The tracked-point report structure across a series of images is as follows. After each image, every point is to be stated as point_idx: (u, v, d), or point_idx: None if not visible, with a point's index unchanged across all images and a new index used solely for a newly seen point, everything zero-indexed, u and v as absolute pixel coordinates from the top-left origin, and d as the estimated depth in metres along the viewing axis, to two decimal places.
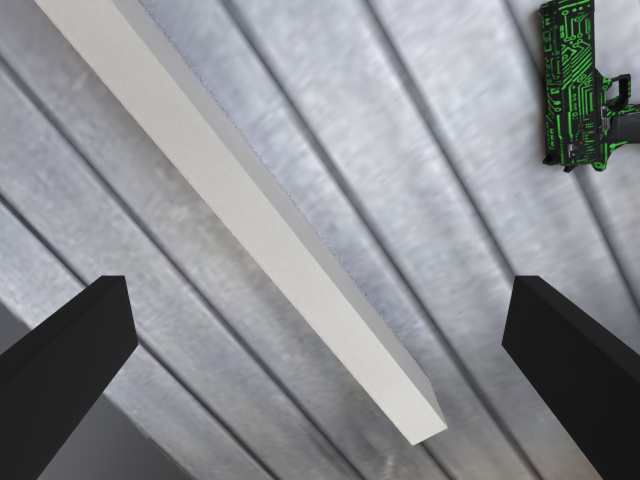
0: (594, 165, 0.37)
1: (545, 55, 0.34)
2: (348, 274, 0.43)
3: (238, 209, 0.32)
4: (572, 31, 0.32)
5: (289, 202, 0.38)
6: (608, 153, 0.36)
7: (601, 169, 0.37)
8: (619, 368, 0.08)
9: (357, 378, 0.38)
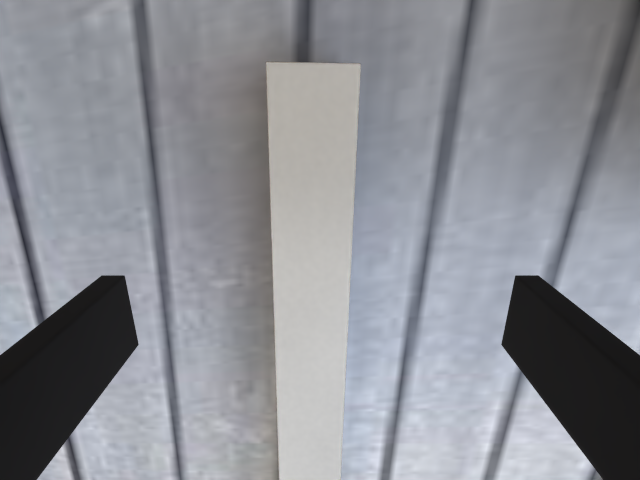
0: None
1: None
2: None
3: None
4: None
5: None
6: None
7: None
8: (619, 368, 0.08)
9: None
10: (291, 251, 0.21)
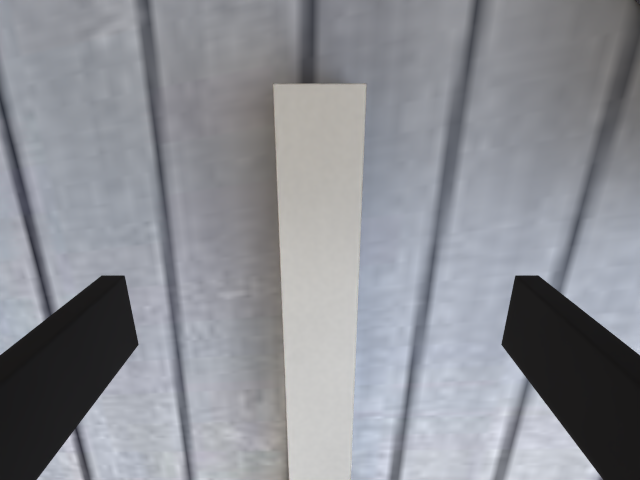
0: None
1: None
2: None
3: None
4: None
5: None
6: None
7: None
8: (619, 368, 0.08)
9: None
10: (299, 267, 0.21)
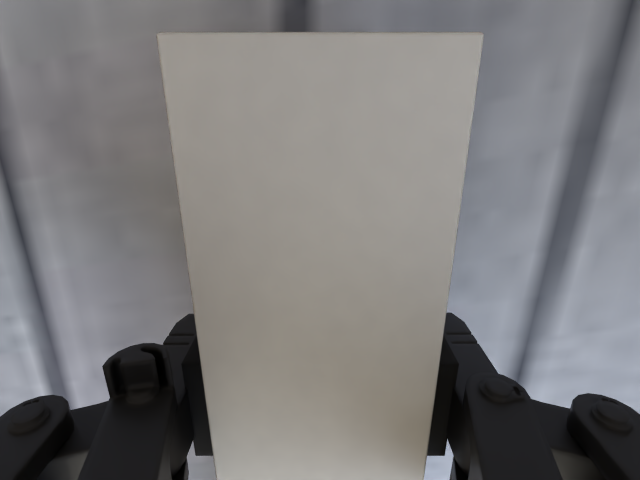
0: None
1: None
2: None
3: None
4: None
5: None
6: None
7: None
8: None
9: None
10: None
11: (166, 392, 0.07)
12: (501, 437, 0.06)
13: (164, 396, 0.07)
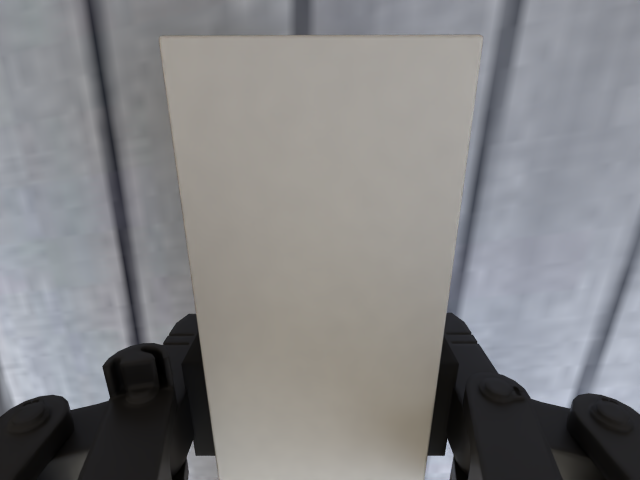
0: None
1: None
2: None
3: None
4: None
5: None
6: None
7: None
8: None
9: None
10: None
11: (166, 392, 0.07)
12: (501, 437, 0.06)
13: (164, 396, 0.07)
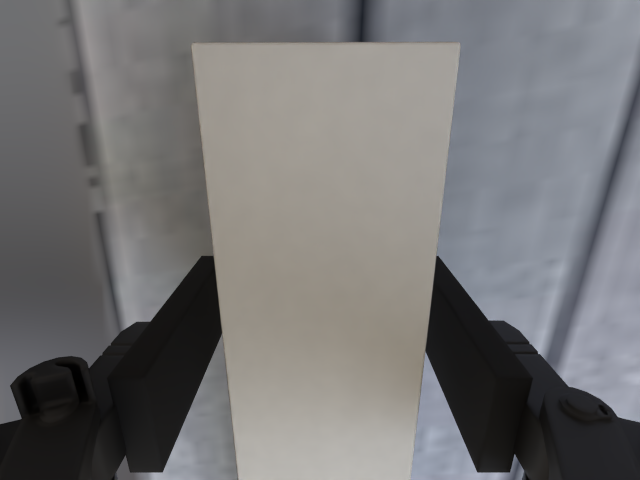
0: None
1: None
2: None
3: None
4: None
5: None
6: None
7: None
8: (461, 324, 0.09)
9: None
10: (279, 466, 0.09)
11: (86, 406, 0.07)
12: (586, 456, 0.06)
13: (84, 410, 0.07)
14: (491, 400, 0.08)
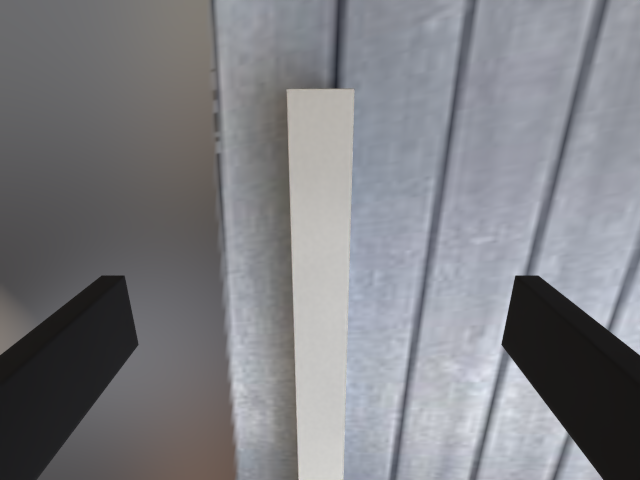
0: None
1: None
2: None
3: (316, 461, 0.36)
4: None
5: None
6: None
7: None
8: (619, 368, 0.08)
9: None
10: (305, 227, 0.28)
11: None
12: None
13: None
14: None
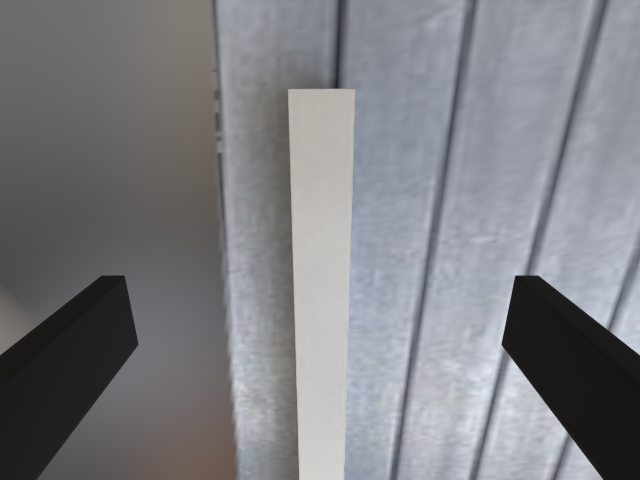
0: None
1: None
2: None
3: (317, 459, 0.36)
4: None
5: None
6: None
7: None
8: (619, 368, 0.08)
9: None
10: (306, 226, 0.28)
11: None
12: None
13: None
14: None
